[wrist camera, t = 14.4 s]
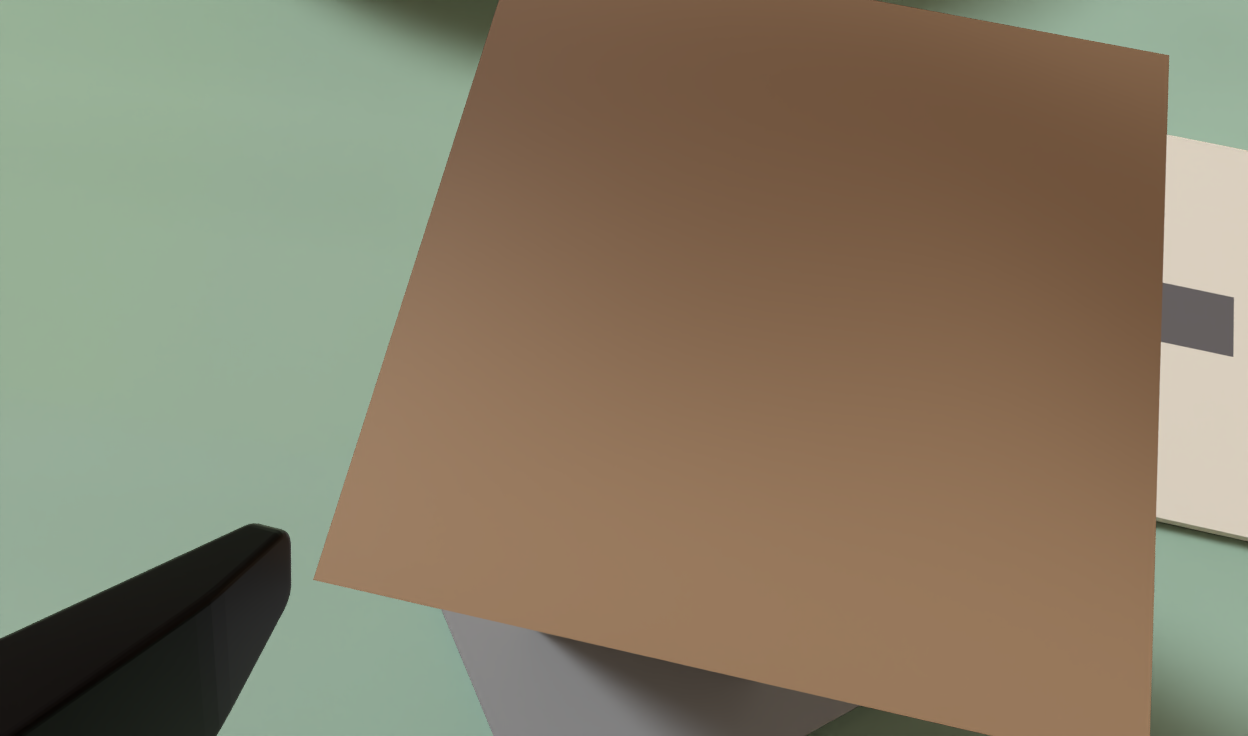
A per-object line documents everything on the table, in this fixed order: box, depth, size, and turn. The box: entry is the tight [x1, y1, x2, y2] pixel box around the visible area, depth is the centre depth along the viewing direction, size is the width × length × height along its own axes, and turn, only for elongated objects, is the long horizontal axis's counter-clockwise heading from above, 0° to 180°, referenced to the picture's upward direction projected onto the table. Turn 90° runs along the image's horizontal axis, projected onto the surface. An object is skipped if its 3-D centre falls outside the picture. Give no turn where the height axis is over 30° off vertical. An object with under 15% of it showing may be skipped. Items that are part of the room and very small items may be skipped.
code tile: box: [1156, 135, 1248, 541], centre depth 19 cm, size 9×9×1 cm
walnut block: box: [313, 0, 1169, 736], centre depth 11 cm, size 5×5×12 cm
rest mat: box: [441, 609, 860, 736], centre depth 17 cm, size 9×9×1 cm
